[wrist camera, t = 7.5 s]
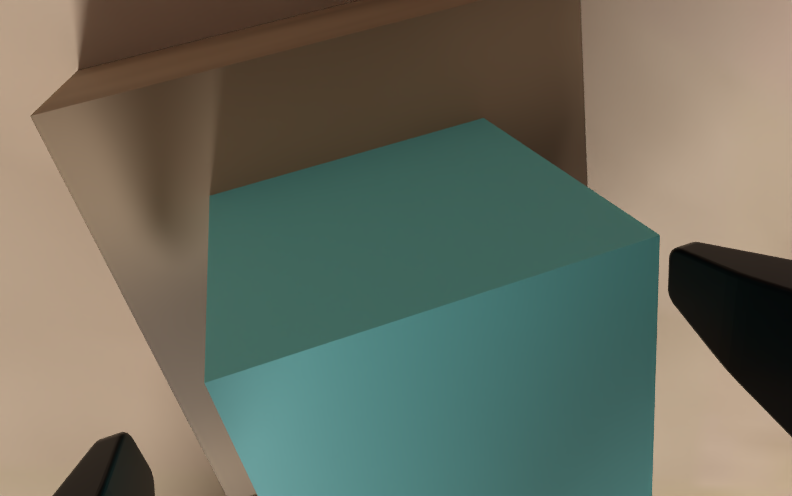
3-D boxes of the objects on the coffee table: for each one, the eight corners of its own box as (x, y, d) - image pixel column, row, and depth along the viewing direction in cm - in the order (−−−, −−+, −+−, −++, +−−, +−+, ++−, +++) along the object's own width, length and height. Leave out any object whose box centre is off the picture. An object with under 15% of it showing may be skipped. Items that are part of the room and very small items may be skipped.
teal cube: (510, 333, 13) (650, 521, 9) (291, 407, 13) (329, 648, 8) (483, 117, 11) (660, 234, 7) (210, 195, 10) (204, 382, 6)
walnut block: (521, 289, 18) (594, 372, 15) (226, 387, 17) (230, 502, 13) (486, -34, 14) (579, -25, 10) (81, 66, 12) (30, 116, 9)
